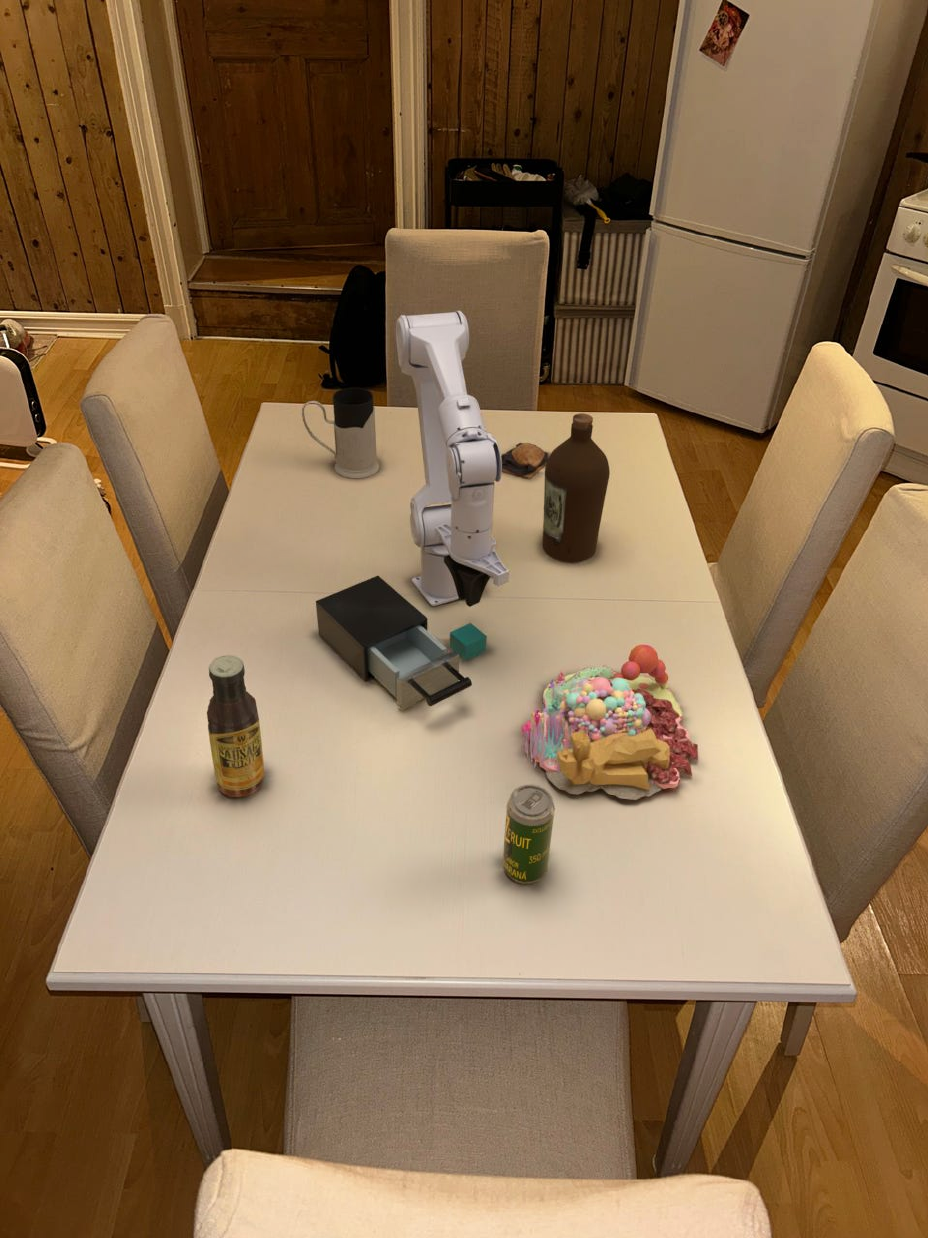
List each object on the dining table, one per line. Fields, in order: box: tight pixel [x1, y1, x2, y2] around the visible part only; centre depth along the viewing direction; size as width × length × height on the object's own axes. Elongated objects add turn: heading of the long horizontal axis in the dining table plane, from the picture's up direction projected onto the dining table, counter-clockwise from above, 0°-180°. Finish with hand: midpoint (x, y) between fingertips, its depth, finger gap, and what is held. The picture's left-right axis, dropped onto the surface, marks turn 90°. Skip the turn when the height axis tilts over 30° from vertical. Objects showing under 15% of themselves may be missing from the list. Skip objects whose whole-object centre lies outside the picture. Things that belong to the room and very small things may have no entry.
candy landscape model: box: [521, 644, 699, 801], centre depth 129 cm, size 25×24×9 cm
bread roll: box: [501, 442, 552, 480], centre depth 189 cm, size 11×8×4 cm
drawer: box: [367, 625, 473, 710], centre depth 137 cm, size 17×10×5 cm, turn 38°
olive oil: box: [542, 412, 611, 563], centre depth 160 cm, size 11×11×25 cm
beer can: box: [502, 784, 556, 885], centre depth 111 cm, size 5×5×12 cm
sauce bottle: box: [206, 654, 265, 798], centre depth 118 cm, size 7×6×20 cm
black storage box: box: [315, 575, 429, 683], centre depth 144 cm, size 13×11×7 cm
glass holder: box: [301, 387, 380, 479], centre depth 183 cm, size 9×14×15 cm, turn 89°
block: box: [449, 622, 488, 662], centre depth 145 cm, size 4×4×3 cm
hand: (469, 600), depth 140 cm, fingers closed
